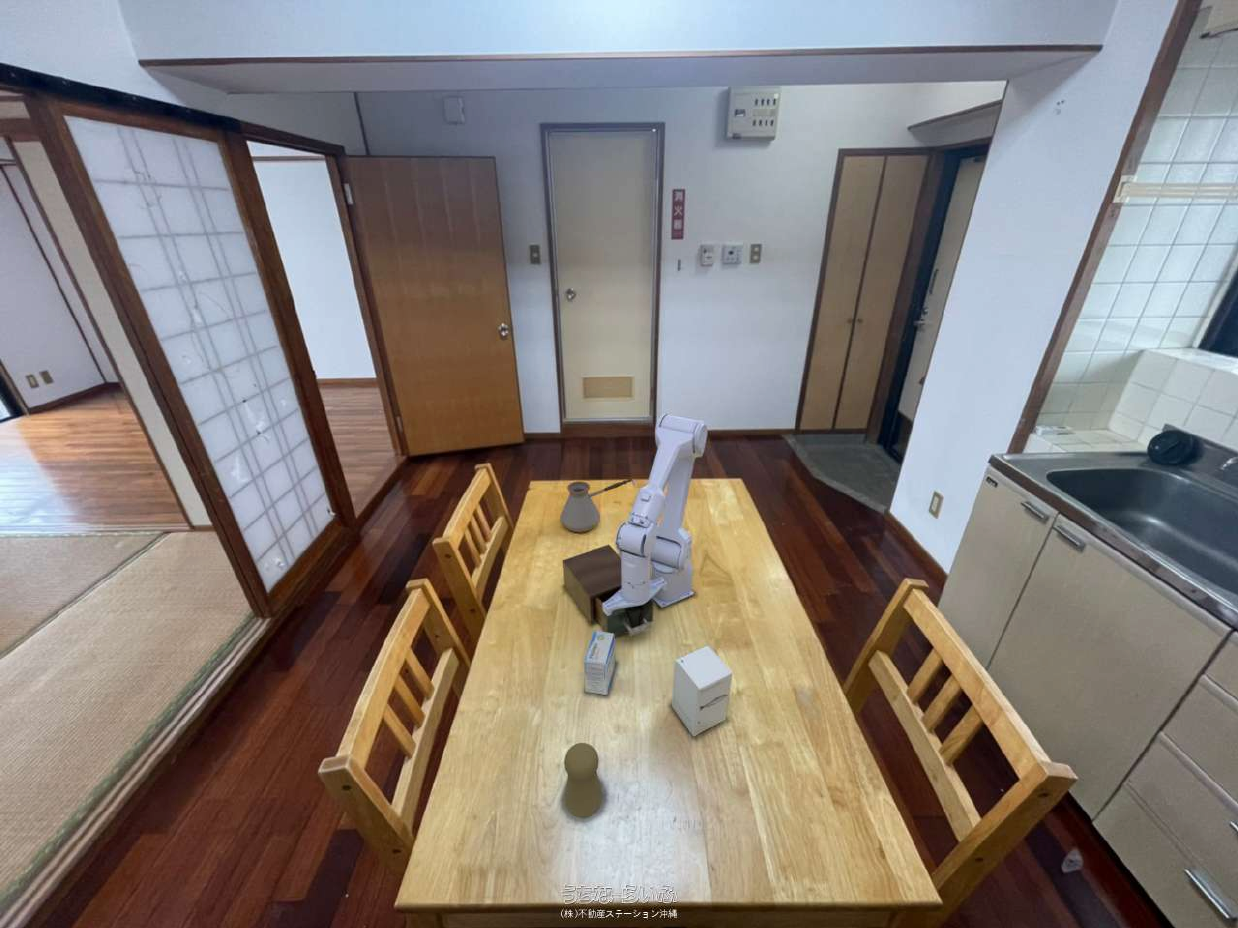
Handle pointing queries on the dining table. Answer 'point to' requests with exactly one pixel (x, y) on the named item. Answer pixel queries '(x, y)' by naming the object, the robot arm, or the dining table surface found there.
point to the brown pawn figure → (582, 781)
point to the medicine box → (599, 663)
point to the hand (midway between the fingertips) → (635, 625)
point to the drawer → (619, 618)
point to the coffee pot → (582, 506)
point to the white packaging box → (701, 689)
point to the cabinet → (592, 577)
